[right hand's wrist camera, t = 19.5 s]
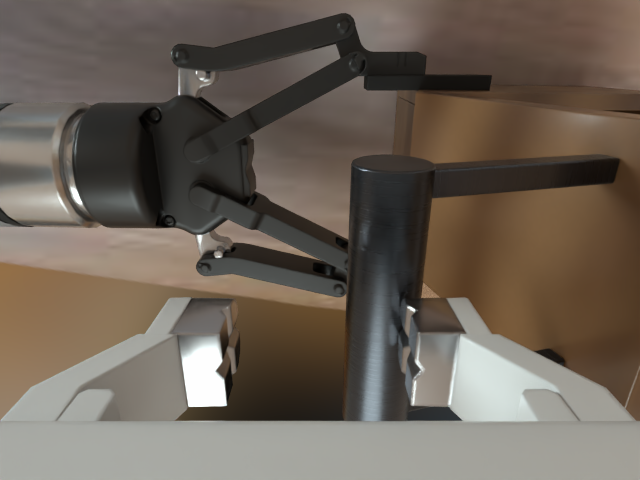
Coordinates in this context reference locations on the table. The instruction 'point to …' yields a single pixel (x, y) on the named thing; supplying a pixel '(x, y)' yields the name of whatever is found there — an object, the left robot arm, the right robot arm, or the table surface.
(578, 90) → the chest
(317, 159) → the table surface
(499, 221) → the lid
